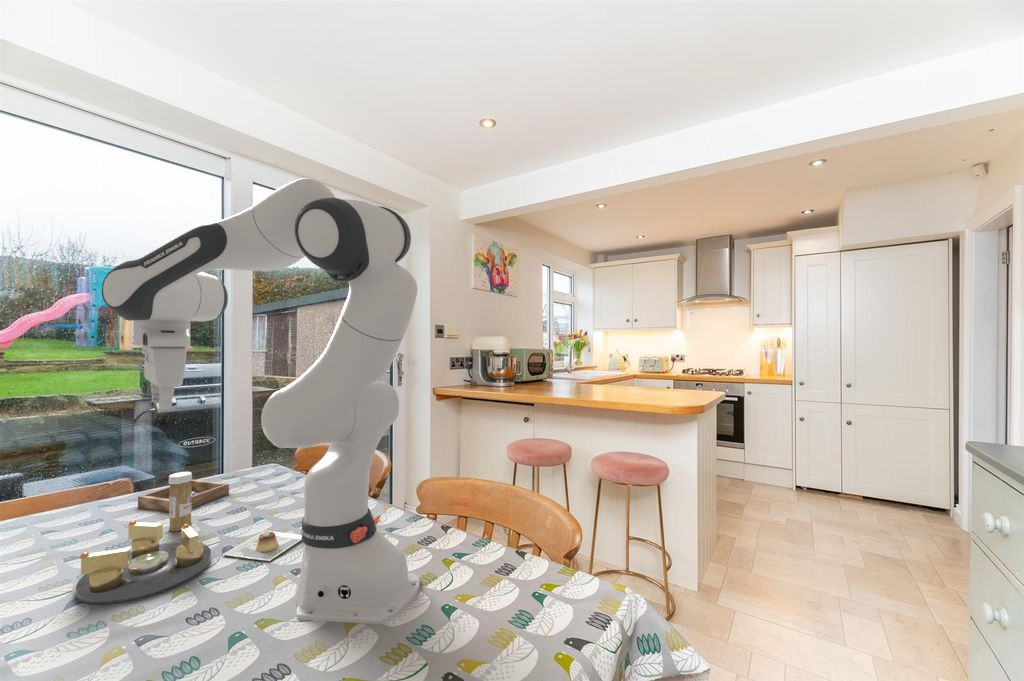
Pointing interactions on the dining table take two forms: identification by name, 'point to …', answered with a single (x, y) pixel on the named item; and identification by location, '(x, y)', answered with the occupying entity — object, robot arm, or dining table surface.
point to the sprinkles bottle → (180, 500)
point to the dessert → (264, 543)
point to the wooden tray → (208, 493)
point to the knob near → (189, 548)
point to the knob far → (144, 537)
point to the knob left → (105, 568)
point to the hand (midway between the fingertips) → (161, 405)
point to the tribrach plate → (146, 577)
